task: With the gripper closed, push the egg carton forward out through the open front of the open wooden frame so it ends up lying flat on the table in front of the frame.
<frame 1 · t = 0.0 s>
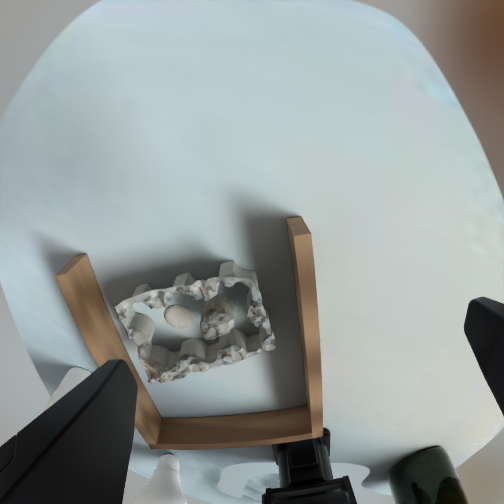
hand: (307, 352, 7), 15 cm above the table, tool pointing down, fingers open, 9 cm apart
egg carton: (198, 307, 24), on the table
roll: (88, 386, 28), on the table
lightbulb: (170, 454, 32), on the table
beer bottle: (416, 462, 36), on the table
open wooden frame: (209, 350, 25), on the table
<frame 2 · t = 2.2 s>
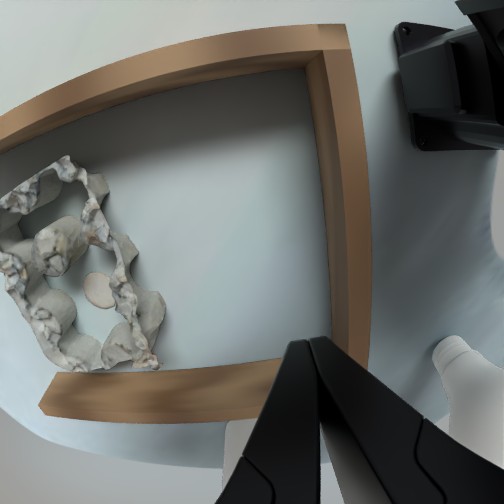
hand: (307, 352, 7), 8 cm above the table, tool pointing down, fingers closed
egg carton: (86, 261, 16), on the table
roll: (265, 426, 21), on the table
lightbulb: (441, 341, 18), on the table
open wooden frame: (143, 257, 15), on the table
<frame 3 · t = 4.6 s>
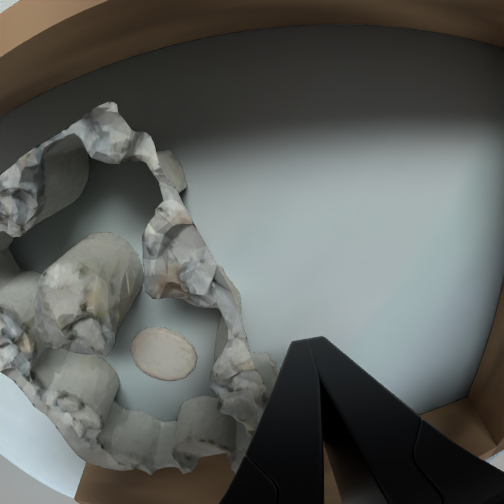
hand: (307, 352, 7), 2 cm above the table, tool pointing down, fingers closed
egg carton: (135, 310, 10), on the table
open wooden frame: (267, 308, 9), on the table
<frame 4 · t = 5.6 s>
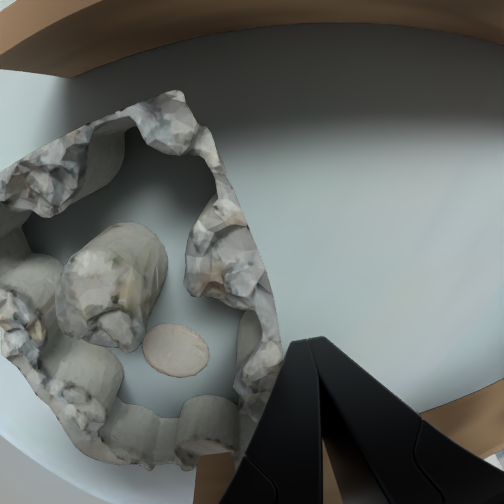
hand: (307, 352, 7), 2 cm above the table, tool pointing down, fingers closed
egg carton: (151, 303, 10), on the table
open wooden frame: (446, 272, 9), on the table
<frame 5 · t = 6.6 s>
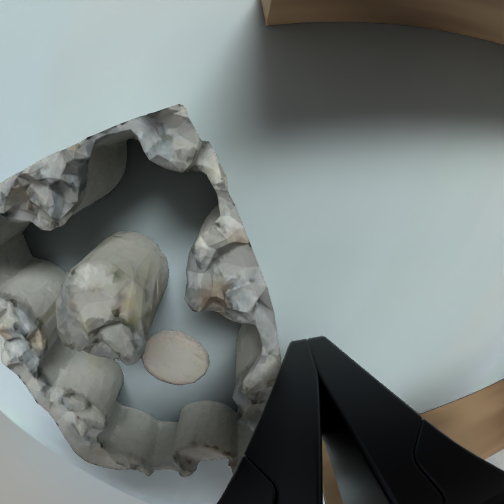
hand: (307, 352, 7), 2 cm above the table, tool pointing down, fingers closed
egg carton: (151, 312, 10), on the table, touching gripper
roll: (503, 425, 14), on the table
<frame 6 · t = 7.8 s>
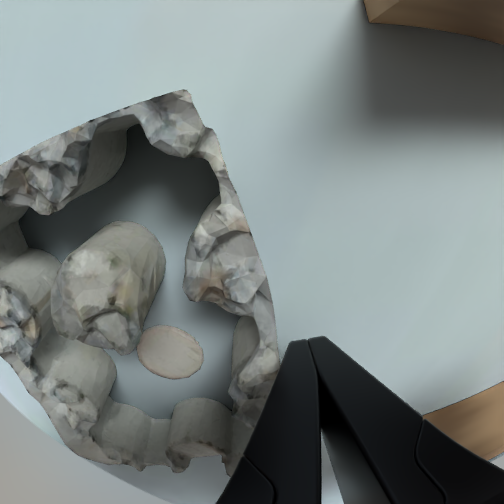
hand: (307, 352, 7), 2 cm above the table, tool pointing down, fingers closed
egg carton: (147, 304, 9), on the table
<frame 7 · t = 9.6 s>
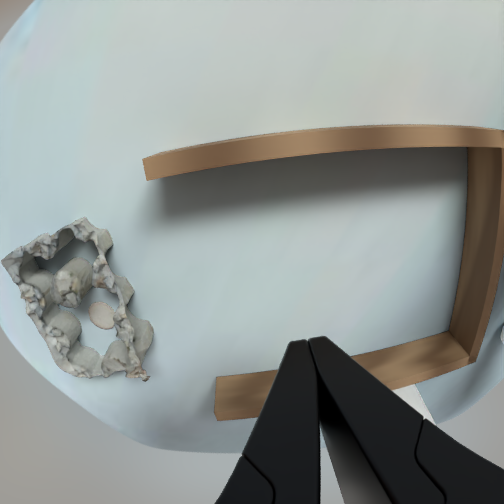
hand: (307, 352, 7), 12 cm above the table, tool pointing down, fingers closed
egg carton: (92, 292, 20), on the table
roll: (386, 399, 25), on the table
lightbulb: (503, 324, 23), on the table
open wooden frame: (351, 266, 19), on the table
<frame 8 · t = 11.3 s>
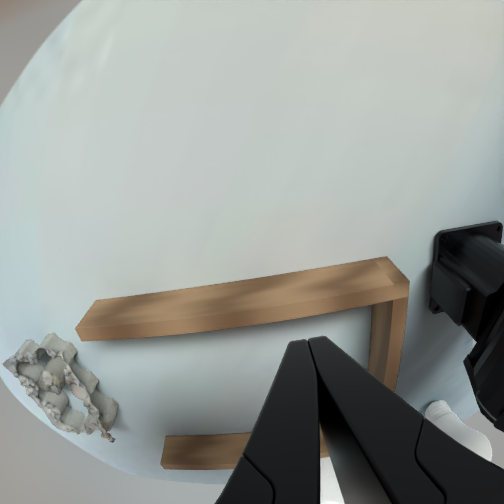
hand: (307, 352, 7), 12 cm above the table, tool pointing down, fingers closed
egg carton: (71, 376, 24), on the table
roll: (313, 456, 29), on the table
lightbulb: (432, 402, 26), on the table
open wooden frame: (255, 377, 23), on the table
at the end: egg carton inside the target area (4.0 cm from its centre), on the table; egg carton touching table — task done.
